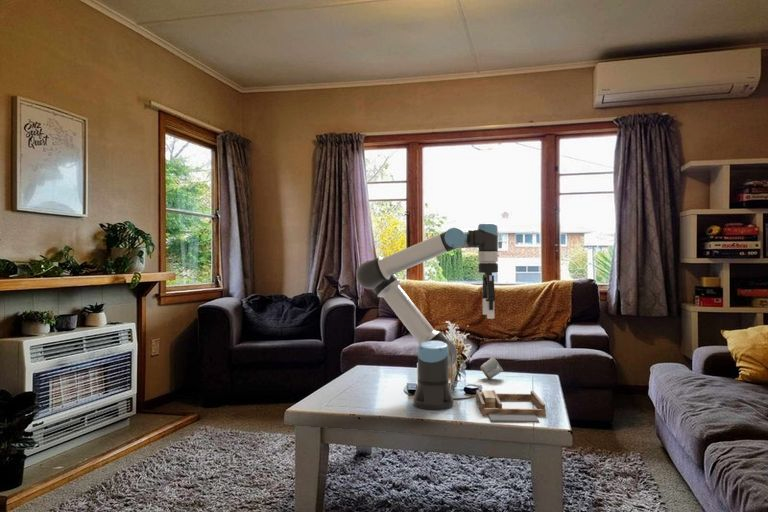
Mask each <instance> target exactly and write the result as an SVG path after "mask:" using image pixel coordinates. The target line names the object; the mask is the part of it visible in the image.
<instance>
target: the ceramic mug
mask: <svg viewBox="0 0 768 512" xmlns="http://www.w3.org/2000/svg"><path fill="white" fill-rule="evenodd" d="M480 370H481V371H482V374H484V376H485V377H486V378H487V379H488V380H490V379H493V378H494V377H496V376H497V375H500V373H503V372H504V369H503V368H502V366H501V365H500V363H499V362H498V360H497V359H496V357H494V356H492V357H490V358H489V359H488V360H487V361H485V362H484V363H483V364H481V366H480Z"/></svg>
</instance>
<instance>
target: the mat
mask: <svg viewBox="0 0 768 512" xmlns="http://www.w3.org/2000/svg"><path fill="white" fill-rule="evenodd" d="M488 418H489V421H490V423H527V422H539V423H540V420H539V419H538V416H535V414H505V413H488Z"/></svg>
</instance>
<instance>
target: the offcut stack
mask: <svg viewBox="0 0 768 512" xmlns="http://www.w3.org/2000/svg"><path fill="white" fill-rule="evenodd" d="M481 391H482V392H481V393H482V398H483V401H484V403H485V408H496V407H495V396H494V394H493V392H492V390H481Z"/></svg>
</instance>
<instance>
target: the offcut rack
mask: <svg viewBox="0 0 768 512" xmlns="http://www.w3.org/2000/svg"><path fill="white" fill-rule="evenodd" d="M491 391H492V392H493V394H494V396H495V407H496V408H485V403H484V401H483V398H482V392H480V390H479V389H476V391H475V392H476V393H475V400H476V403H477V405H478V408H479V410H480V413H481V414H482V415H481V416H483V417H485V416H488V413H505V414H535V416H536V417H546V416H547V413H546V412H547V410H546V403H544V401H542V399H541V398H540V397H539V396H538V395H537V394H536V392H535V391H534V390H530V393H497V392H496V390H494V389H493V390H492V389H491ZM502 401H530V402H531V403H532V404H533V405H534V407H535V408H510V407H509V408H507V407H506V408H505V407H503V404H502ZM488 417H489V416H488Z"/></svg>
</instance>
